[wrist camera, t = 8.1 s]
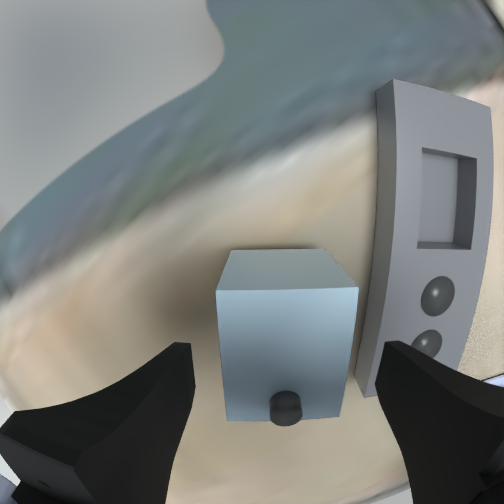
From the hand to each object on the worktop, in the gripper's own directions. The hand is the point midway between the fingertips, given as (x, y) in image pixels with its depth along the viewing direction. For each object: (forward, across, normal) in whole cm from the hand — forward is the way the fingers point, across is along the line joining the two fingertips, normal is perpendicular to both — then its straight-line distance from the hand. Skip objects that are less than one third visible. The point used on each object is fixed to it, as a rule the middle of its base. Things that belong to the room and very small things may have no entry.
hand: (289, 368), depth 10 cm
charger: (+7, 0, 0) cm, 7 cm away
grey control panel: (+7, -9, -3) cm, 12 cm away
